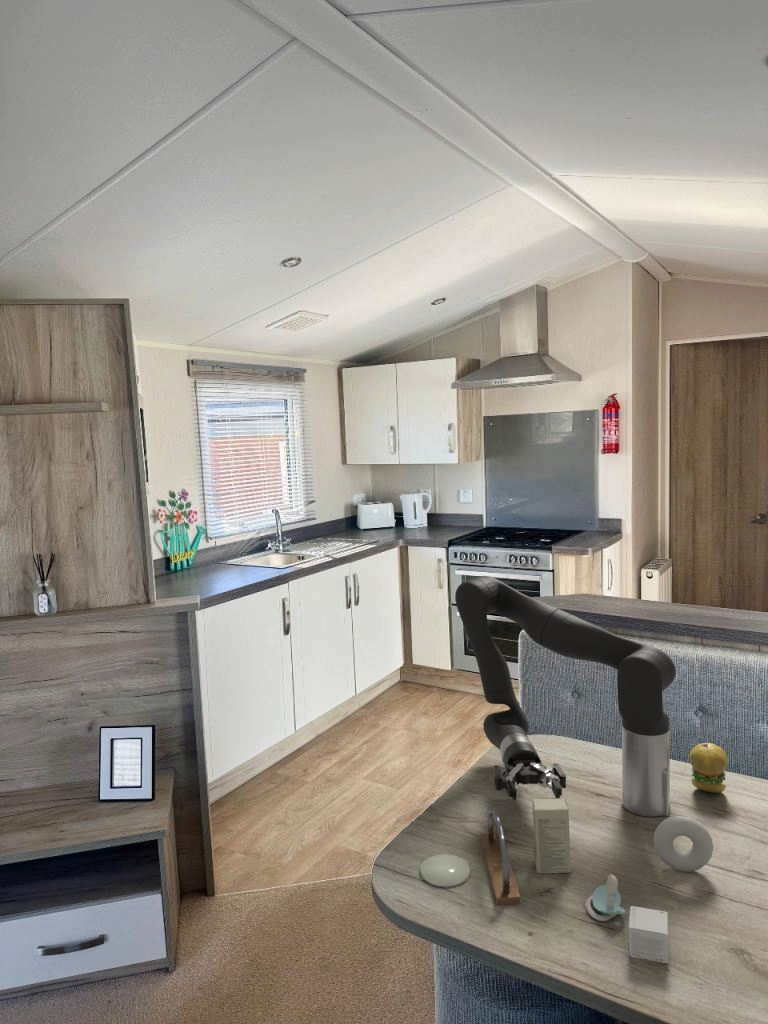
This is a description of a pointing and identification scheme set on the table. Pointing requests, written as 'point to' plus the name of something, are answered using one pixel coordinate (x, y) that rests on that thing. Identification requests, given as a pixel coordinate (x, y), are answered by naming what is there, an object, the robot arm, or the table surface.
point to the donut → (683, 859)
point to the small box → (649, 934)
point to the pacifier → (605, 900)
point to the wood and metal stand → (499, 862)
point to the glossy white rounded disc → (445, 870)
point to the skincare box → (551, 835)
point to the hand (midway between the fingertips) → (536, 794)
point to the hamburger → (708, 767)
